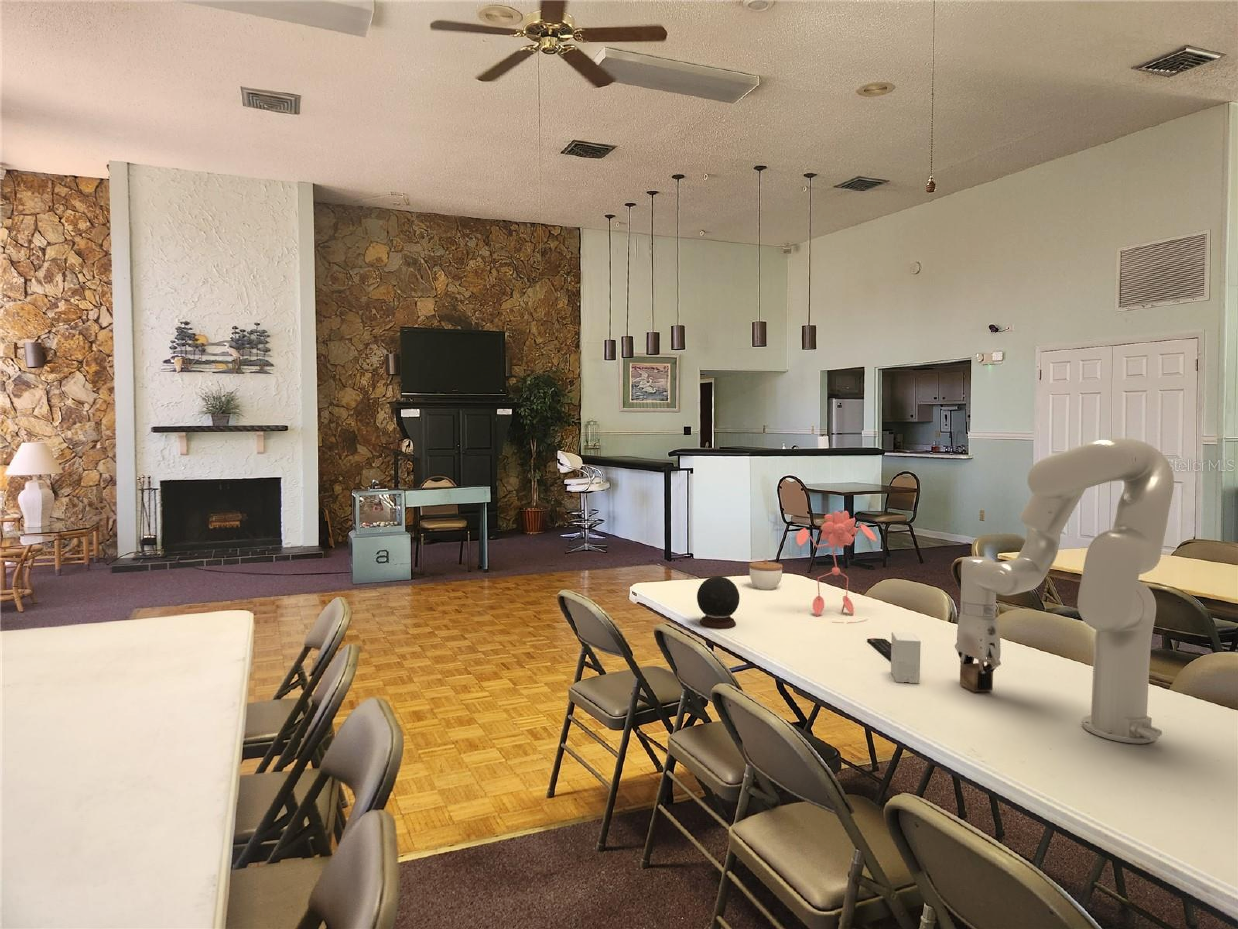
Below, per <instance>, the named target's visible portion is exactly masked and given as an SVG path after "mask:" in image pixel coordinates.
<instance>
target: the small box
mask: <svg viewBox="0 0 1238 929" xmlns="http://www.w3.org/2000/svg"><path fill="white" fill-rule="evenodd" d="M921 642H922V641H921V640H920V639H919V638H918V636H917V635H916V633H914V632H905V631H904V632H901V631H892V632H891V642H890V643H891V662H890V673H891V675H892V677H893V679H894V680H895V683H904V682H909V683H908V684H920V680H921V679H920V677H921Z"/></svg>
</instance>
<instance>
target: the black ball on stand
mask: <svg viewBox="0 0 1238 929" xmlns="http://www.w3.org/2000/svg"><path fill="white" fill-rule="evenodd" d="M696 593H697V594H696V601H697V602H696V603H697V604H698V608H699V609H700V610H701V612H702V613H703V614H704V616H702V617H701V619H700V620H699V625H700V626H701V627H703V628H706V629H714V630H728V629H729V630H730V629H733V628H736V625H737V623H736V621H735V619H734V618H733V617H731V616H732V615H733V614H734V613H735V612H736V611H737V609H738V607H739V605H740V592H739V589H738V588H737V586H736V584H735V583H734V582H733V581H732V580H731V579H728V578H727V577H725V576H718V575H717V576H712V577H711V576H710V577H709V578H707V579H704V581H703V582H702V583H701V584H700V586H699V587H698V590H697V592H696Z"/></svg>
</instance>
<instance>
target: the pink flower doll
mask: <svg viewBox="0 0 1238 929" xmlns="http://www.w3.org/2000/svg"><path fill="white" fill-rule="evenodd" d="M824 521H825V523H823V524H822V525H821V526H820V530H821V531H822V532H821V534H820V539H821V541H825V540H827V543H825V544H820V545H817V543H816V542H815V540H814V539H813V538H812V536H811V535H810V533H809V530H808V529H807V528H806V527H802V529H800V530H799V531H798V532H797V534H796V543H797V545H798V546H799V547H802V546H803V545H804V544H806V542H807V541H808V540H809V539H810V540H811V541H812V543H813V544H814V546H815V547H816V548H817V549H818V548H823V547H826V546H829V548H833V549H832V556H833V561H834V567H832V568H831V572H829V573H826V574H824V575H821V576H818V577H817V594H818V595H817V596H815V597H814V599H813V600H812V601H813V602H812V609H813V612H814V614H815V616H816V617H818V616H819V615H820V614H821V613H823V611H824V609H825V600H824V598H823V597H822V596H821V595H820V580H819V579H821V578H823V577H825V576H828V575H831V574H832V575H833V576H838V575H841V576H844V577H845V578H846V592H845V595H843V596H842V602H843V605H842V608H841V613H843V612H844V611H845V610H844V609H846V610H847V611H848V612H849V614H851V615H852V616H854V604H853V602H852V600H850V598H849V596H848V588H849V586H848V585H849V577H848V576H846V575H845V574H844V573H843V572H841V569H840V568H839V567H838V565H837V560H836V559H837V558H836V554H835V553H836V552H835V550H836V548H835V547H836V546H837V547H838V548H840V549H843V548H844V547H845V546H851V545H852V544H853V542H854V541H855V538H856V536H857V535H858V533H859V530H860V529H861V532H862V533H863V534H864V535H865V536H866V537H867V538H868V539H869V540H871V541H873V542H875V543H878V541H877V537H876V535H875V534H874V532H873V531H872V530H871V528H869V527H868V526H867V525H865V524H863V523H859V526H858V528H857V527H855V525H856V518H855V517H853V518H850V514H849V511H847V510H844V511H843V512H842V513H841V512H840V511H838V510H835V511H834V512H833V514H830V513H829V514H828V513H827V514H825V515H824ZM797 612H799V610H797ZM861 622H862V623H863V622H866V619H865V620H860V621H859V623H861ZM833 623H834V624H836V623H837V624H843V622H837V621H833ZM854 623H857V621H854V622H851V621H850V622H848V624H854Z"/></svg>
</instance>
